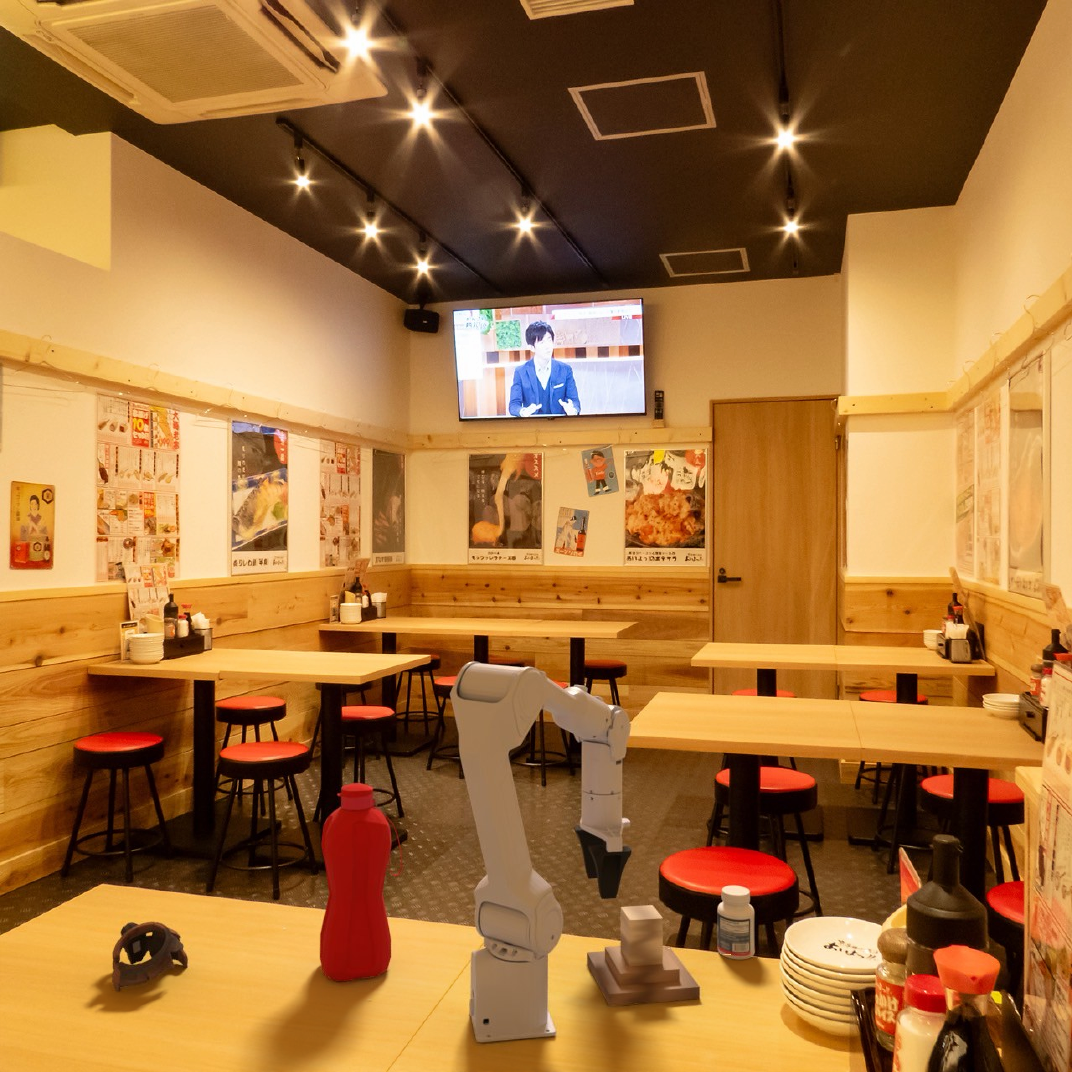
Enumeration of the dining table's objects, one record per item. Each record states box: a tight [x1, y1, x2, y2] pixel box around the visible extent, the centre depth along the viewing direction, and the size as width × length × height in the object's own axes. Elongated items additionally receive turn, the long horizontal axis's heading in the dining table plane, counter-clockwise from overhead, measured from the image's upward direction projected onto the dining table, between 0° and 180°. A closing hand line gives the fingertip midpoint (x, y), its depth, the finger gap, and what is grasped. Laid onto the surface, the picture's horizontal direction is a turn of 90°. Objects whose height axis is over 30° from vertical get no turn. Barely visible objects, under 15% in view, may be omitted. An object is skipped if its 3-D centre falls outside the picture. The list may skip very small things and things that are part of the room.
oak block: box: [619, 904, 664, 967], centre depth 119 cm, size 4×4×6 cm
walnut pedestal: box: [586, 945, 701, 1007], centre depth 118 cm, size 12×12×3 cm
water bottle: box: [319, 782, 403, 983], centre depth 122 cm, size 9×11×25 cm
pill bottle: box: [716, 885, 756, 961], centre depth 127 cm, size 5×5×9 cm
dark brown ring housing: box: [111, 921, 189, 993], centre depth 119 cm, size 12×10×8 cm
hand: (601, 887), depth 124 cm, fingers open, 7 cm apart
